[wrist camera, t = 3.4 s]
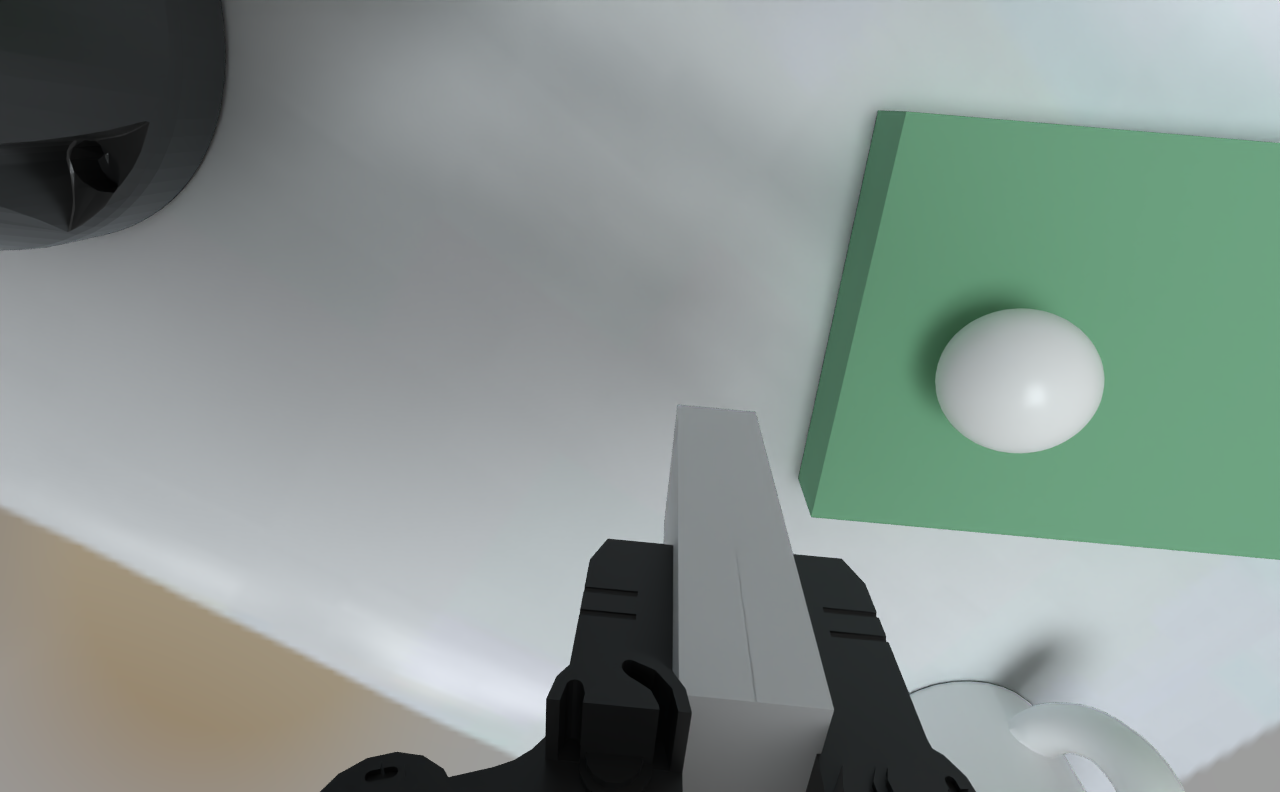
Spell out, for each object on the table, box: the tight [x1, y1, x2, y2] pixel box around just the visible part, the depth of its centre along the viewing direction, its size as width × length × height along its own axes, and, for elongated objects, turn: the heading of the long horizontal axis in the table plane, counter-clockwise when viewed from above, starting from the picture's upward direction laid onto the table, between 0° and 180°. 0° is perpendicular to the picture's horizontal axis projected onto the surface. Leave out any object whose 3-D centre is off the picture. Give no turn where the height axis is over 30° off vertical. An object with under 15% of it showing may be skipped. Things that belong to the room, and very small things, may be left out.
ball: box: [935, 308, 1105, 453], centre depth 17 cm, size 4×4×4 cm
